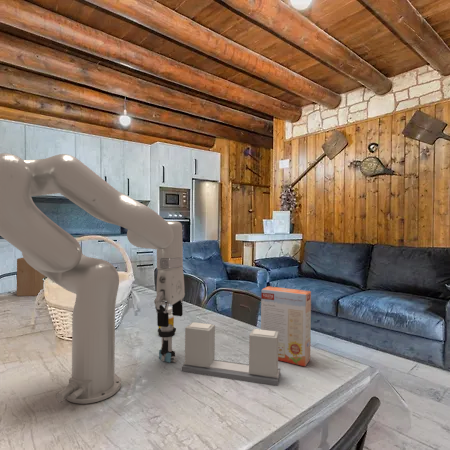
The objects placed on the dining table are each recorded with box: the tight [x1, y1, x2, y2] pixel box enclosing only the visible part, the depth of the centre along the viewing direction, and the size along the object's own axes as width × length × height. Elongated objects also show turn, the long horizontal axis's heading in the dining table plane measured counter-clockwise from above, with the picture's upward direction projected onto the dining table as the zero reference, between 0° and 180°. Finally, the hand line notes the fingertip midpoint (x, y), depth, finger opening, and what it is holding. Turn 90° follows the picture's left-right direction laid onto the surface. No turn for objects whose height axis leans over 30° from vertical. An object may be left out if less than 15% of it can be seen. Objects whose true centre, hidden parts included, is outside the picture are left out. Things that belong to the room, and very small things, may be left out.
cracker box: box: [260, 285, 312, 367], centre depth 95 cm, size 14×6×21 cm, turn 59°
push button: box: [157, 324, 178, 363], centre depth 92 cm, size 7×5×10 cm
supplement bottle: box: [157, 306, 175, 335], centre depth 113 cm, size 5×5×10 cm
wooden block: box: [16, 257, 46, 297], centre depth 171 cm, size 10×10×20 cm
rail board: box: [181, 321, 281, 387], centre depth 86 cm, size 7×26×12 cm, turn 74°
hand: (170, 320), depth 93 cm, fingers open, 9 cm apart
